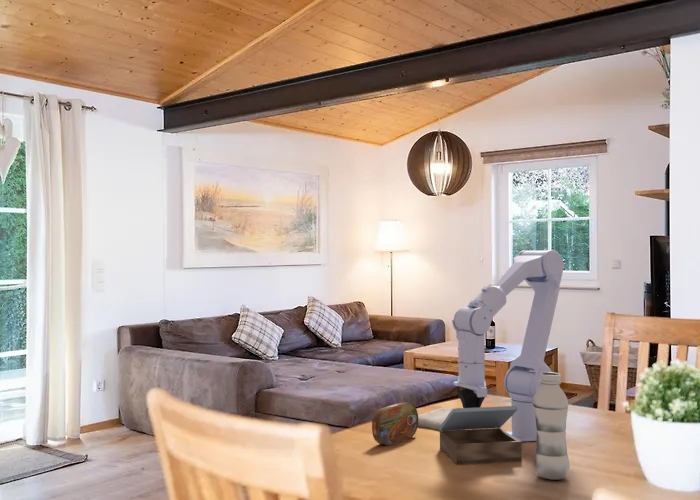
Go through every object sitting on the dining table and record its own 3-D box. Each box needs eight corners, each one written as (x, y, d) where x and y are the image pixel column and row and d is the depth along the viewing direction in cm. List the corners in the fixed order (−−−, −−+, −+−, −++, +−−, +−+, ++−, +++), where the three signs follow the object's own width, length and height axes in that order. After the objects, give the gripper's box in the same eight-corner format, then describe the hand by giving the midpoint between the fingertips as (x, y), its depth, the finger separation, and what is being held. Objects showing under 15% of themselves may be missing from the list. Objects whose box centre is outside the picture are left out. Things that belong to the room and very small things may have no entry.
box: (500, 445, 163) (500, 428, 163) (521, 460, 151) (521, 441, 151) (439, 449, 161) (439, 431, 161) (456, 464, 149) (456, 445, 149)
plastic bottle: (564, 485, 135) (563, 377, 135) (528, 480, 139) (528, 374, 139) (574, 476, 140) (573, 372, 141) (539, 471, 144) (538, 370, 144)
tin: (380, 449, 162) (380, 411, 162) (369, 446, 164) (369, 409, 164) (419, 435, 173) (419, 400, 173) (408, 433, 175) (408, 398, 175)
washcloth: (489, 421, 189) (489, 409, 189) (452, 435, 175) (452, 422, 175) (450, 415, 197) (450, 403, 197) (412, 427, 183) (411, 415, 183)
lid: (500, 427, 163) (499, 423, 164) (518, 409, 153) (517, 405, 153) (439, 430, 161) (438, 426, 161) (453, 412, 151) (452, 408, 151)
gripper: (444, 357, 167) (444, 416, 167) (464, 367, 153) (464, 432, 153) (474, 356, 168) (474, 415, 168) (496, 366, 154) (496, 430, 154)
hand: (471, 423), depth 161 cm, fingers closed, pressing on lid
